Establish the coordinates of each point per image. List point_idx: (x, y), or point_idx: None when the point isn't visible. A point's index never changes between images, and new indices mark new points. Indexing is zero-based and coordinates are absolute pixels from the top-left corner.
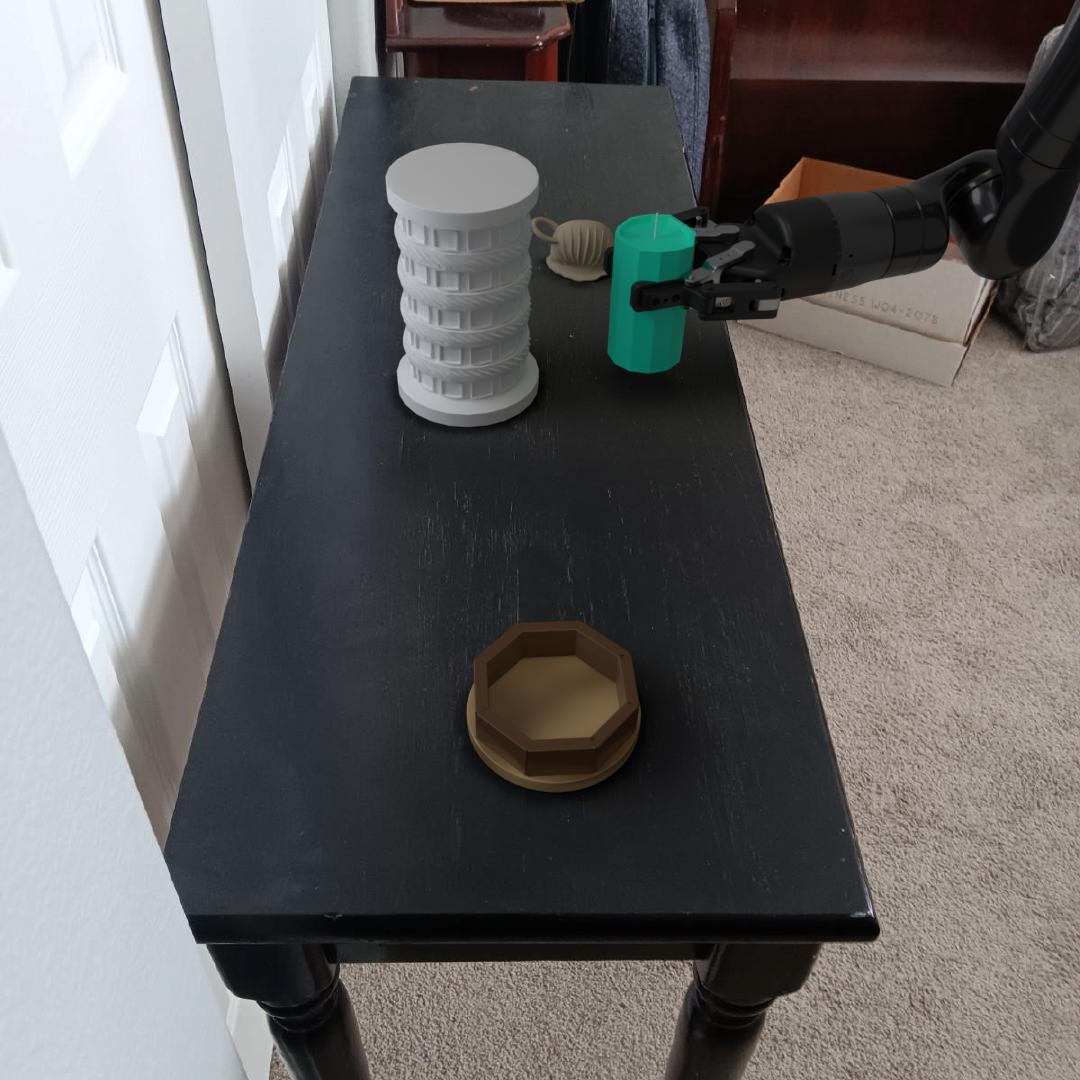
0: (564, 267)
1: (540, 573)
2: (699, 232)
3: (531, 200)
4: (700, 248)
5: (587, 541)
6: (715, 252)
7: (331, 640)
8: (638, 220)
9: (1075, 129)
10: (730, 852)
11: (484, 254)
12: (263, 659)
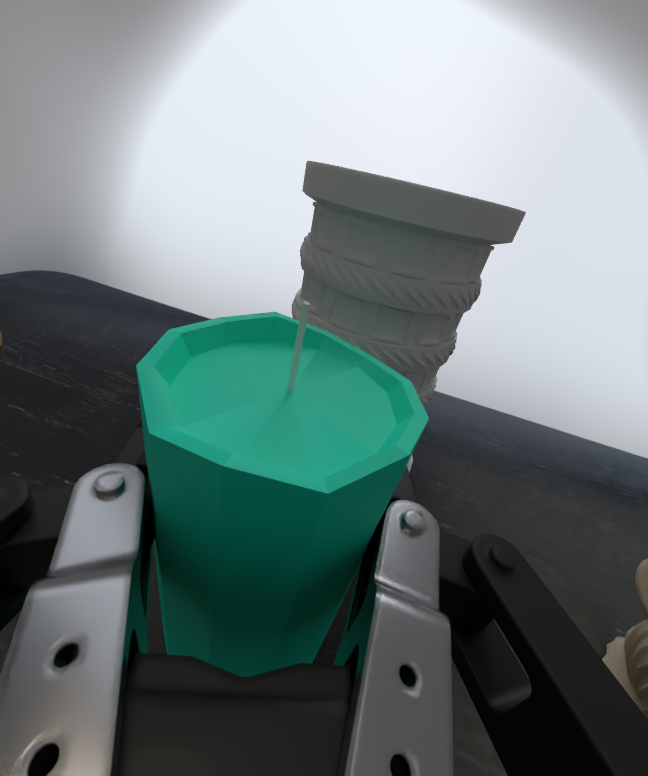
0: (623, 660)
1: (45, 394)
2: (394, 687)
3: (342, 184)
4: (304, 672)
5: (33, 435)
6: (218, 740)
7: (121, 318)
8: (398, 394)
9: None
10: None
11: (304, 239)
12: (137, 305)
